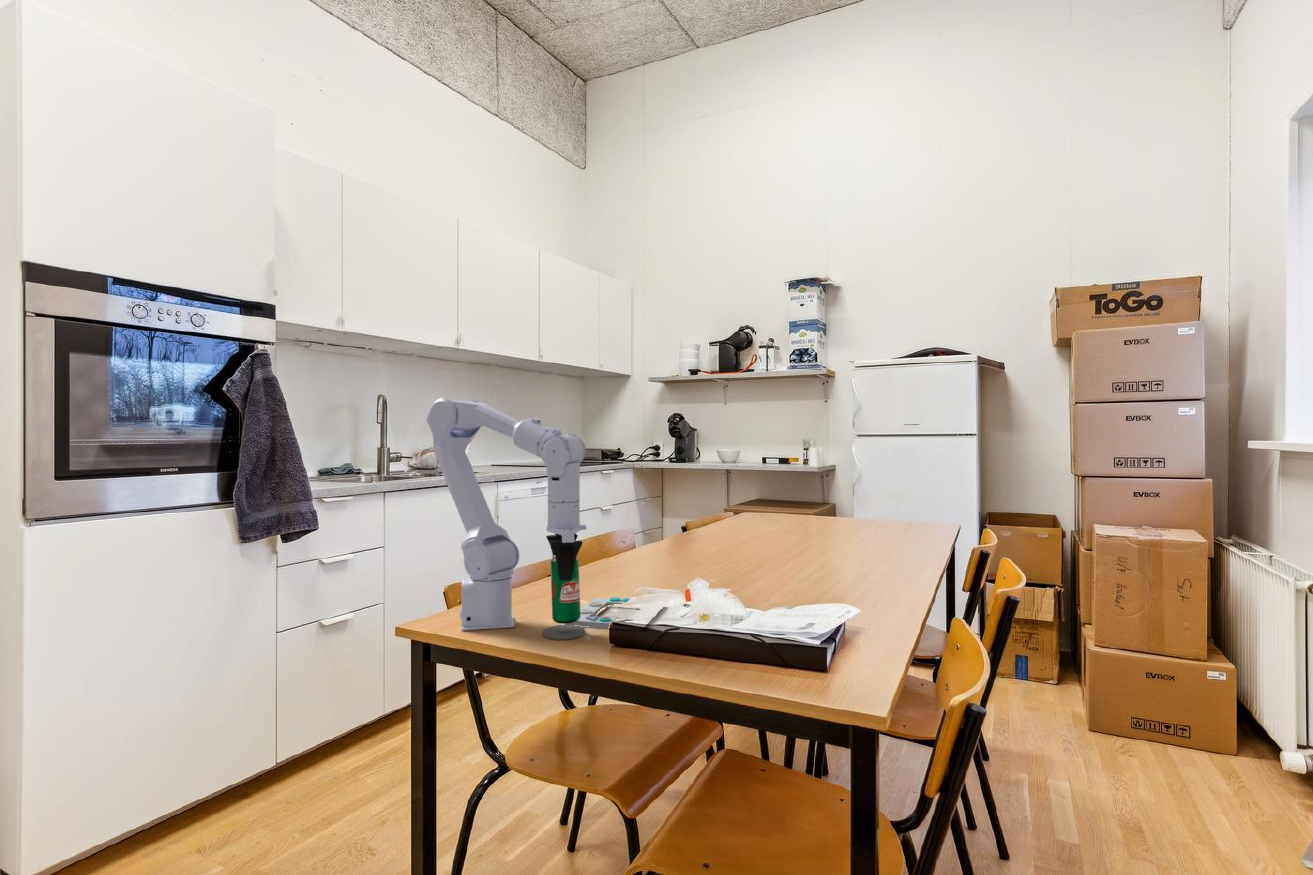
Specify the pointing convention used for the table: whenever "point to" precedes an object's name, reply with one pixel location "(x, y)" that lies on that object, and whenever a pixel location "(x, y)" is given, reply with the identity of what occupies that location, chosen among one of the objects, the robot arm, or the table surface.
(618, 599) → the electronic device
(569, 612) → the soda can
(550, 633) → the rubber mat
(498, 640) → the table surface
